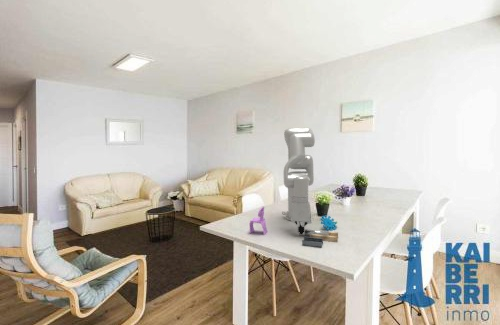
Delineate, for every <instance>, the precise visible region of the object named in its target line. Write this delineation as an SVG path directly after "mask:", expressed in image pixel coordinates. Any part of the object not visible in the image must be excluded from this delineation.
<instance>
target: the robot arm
mask: <svg viewBox="0 0 500 325" xmlns="http://www.w3.org/2000/svg"><path fill="white" fill-rule="evenodd" d="M283 134H284V141H285V143H286V146H287V153H288V154H287V156H288V157H287V159H288V161H287V162H286V163H285V165H284V167H283V184H284V187H285V188H286V189H287V209H288V210H287V211H284V210H283V211H281V215H282V216H285V219H286V220H288V221H290V222H291V223H293V224H295V225H296V226H297V228H298V229H297V230H298V234H299V235H304V234H305V226H306V225H310V224H312V211H311V203H310V201H309V186H312V185H314V159H313V157H312V156H311V155H310V154H306V148H312V147H315V141H316V140H315V135H314V133H313V130H312V128H310V127H291V128H286V129H285V130H284V133H283ZM289 169H291V170H306V171H289Z"/></svg>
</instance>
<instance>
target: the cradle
mask: <svg viewBox="0 0 500 325" xmlns="http://www.w3.org/2000/svg"><path fill="white" fill-rule="evenodd" d="M301 243H302V244H301V245H302V247H303V246H304V247H313V248H321V249H322V248H323V246H324V245H323V244H324V241H323V238H315V237H310V236H305V235H304V237H303V239H302V241H301Z"/></svg>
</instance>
